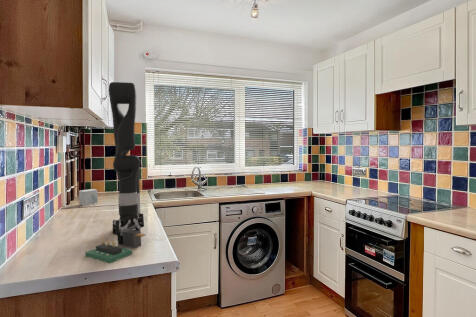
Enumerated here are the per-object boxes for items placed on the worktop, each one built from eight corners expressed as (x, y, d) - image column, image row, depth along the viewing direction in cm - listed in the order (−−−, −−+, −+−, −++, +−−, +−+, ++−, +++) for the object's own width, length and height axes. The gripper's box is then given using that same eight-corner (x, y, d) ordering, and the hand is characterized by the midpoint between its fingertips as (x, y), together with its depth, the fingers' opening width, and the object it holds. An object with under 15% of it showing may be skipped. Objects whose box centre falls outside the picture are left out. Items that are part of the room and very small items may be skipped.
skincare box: (83, 206, 203) (82, 191, 203) (79, 205, 207) (78, 190, 207) (98, 203, 211) (97, 189, 211) (93, 202, 215) (93, 188, 215)
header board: (85, 256, 112) (84, 240, 111) (108, 247, 120) (107, 233, 120) (109, 263, 105) (109, 246, 104) (132, 253, 114) (131, 238, 113)
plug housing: (118, 244, 124) (117, 230, 124) (125, 241, 128) (125, 228, 127) (140, 249, 118) (139, 234, 118) (147, 246, 121) (146, 232, 121)
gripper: (135, 199, 131) (136, 235, 131) (107, 205, 118) (108, 244, 119) (147, 200, 127) (148, 237, 128) (120, 207, 115) (121, 247, 115)
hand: (129, 241), depth 123 cm, fingers open, 8 cm apart
